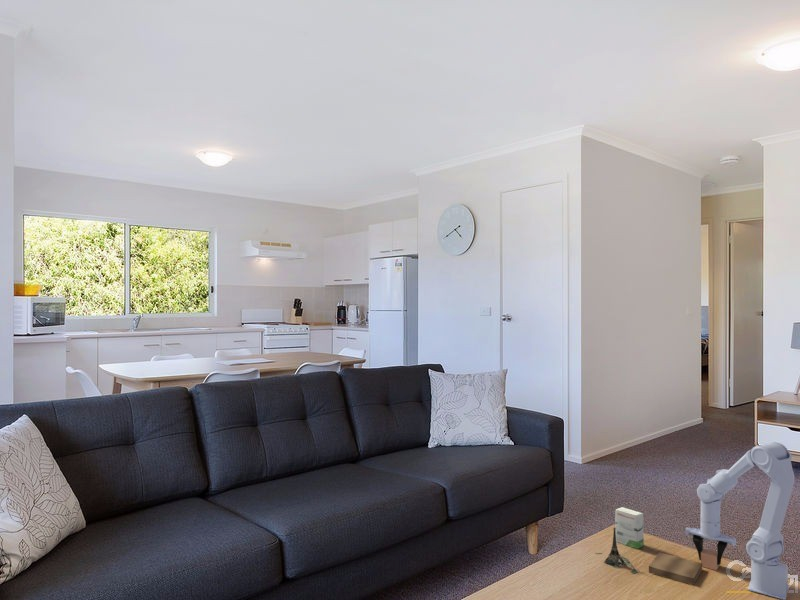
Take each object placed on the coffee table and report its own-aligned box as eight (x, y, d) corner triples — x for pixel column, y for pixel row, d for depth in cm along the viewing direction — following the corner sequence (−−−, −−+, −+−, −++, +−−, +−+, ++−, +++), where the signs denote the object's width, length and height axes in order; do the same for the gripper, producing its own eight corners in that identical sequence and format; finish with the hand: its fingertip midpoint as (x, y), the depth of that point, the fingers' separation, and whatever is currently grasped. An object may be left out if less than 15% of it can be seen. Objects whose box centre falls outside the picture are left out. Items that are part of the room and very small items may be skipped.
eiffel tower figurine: (640, 576, 183) (640, 534, 183) (607, 575, 183) (607, 533, 183) (623, 555, 198) (624, 516, 198) (593, 554, 198) (594, 515, 198)
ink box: (644, 546, 204) (644, 512, 204) (637, 549, 201) (637, 516, 201) (621, 538, 211) (621, 505, 211) (614, 541, 207) (614, 508, 207)
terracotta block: (719, 565, 189) (719, 551, 189) (716, 570, 186) (716, 556, 186) (703, 561, 192) (703, 547, 192) (700, 566, 188) (700, 552, 188)
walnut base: (702, 569, 186) (702, 563, 186) (693, 585, 176) (693, 578, 176) (659, 558, 194) (659, 552, 194) (648, 572, 184) (648, 566, 184)
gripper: (737, 521, 187) (737, 563, 187) (688, 511, 196) (688, 551, 196) (734, 528, 182) (733, 571, 182) (684, 517, 191) (683, 558, 191)
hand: (710, 561), depth 189 cm, fingers closed on terracotta block, 5 cm apart
